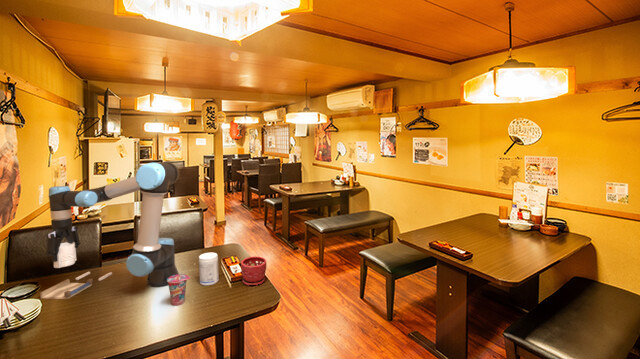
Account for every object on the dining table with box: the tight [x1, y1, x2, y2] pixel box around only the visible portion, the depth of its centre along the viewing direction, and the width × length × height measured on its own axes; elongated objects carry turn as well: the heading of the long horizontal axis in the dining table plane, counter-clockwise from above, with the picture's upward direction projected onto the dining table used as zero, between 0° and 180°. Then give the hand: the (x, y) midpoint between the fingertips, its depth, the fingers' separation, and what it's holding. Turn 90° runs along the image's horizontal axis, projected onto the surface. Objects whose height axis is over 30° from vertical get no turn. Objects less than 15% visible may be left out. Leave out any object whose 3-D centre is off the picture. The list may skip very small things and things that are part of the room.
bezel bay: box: [39, 278, 94, 300], centre depth 141 cm, size 13×14×3 cm
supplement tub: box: [198, 251, 220, 286], centre depth 152 cm, size 10×10×15 cm
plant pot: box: [240, 256, 267, 286], centre depth 152 cm, size 13×13×12 cm
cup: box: [167, 273, 191, 307], centre depth 131 cm, size 9×8×12 cm
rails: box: [75, 271, 113, 282], centre depth 157 cm, size 14×8×1 cm, turn 88°
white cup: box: [58, 241, 76, 268], centre depth 139 cm, size 8×8×10 cm
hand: (65, 263), depth 140 cm, fingers closed on white cup, 7 cm apart
